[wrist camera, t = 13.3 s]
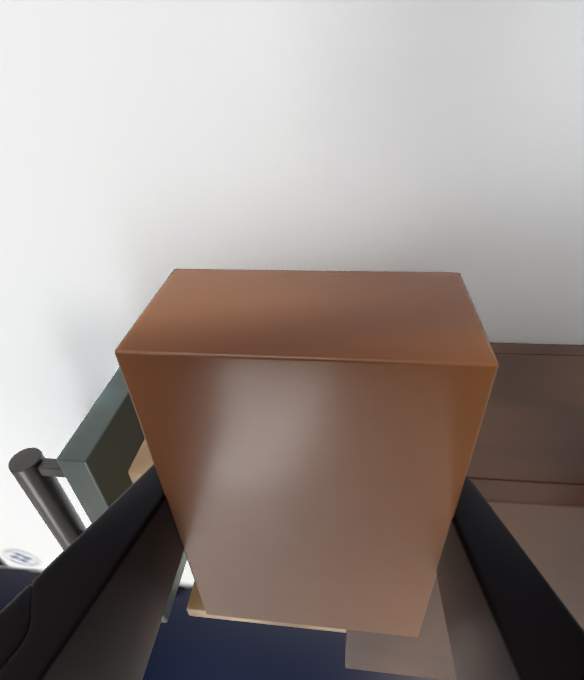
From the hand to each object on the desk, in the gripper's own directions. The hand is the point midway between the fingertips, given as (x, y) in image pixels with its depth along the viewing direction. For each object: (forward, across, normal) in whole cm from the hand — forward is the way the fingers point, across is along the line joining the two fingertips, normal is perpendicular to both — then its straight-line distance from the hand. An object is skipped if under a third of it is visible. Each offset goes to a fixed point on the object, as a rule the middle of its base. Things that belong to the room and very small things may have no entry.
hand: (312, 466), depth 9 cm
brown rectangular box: (+1, 0, 0) cm, 1 cm away
